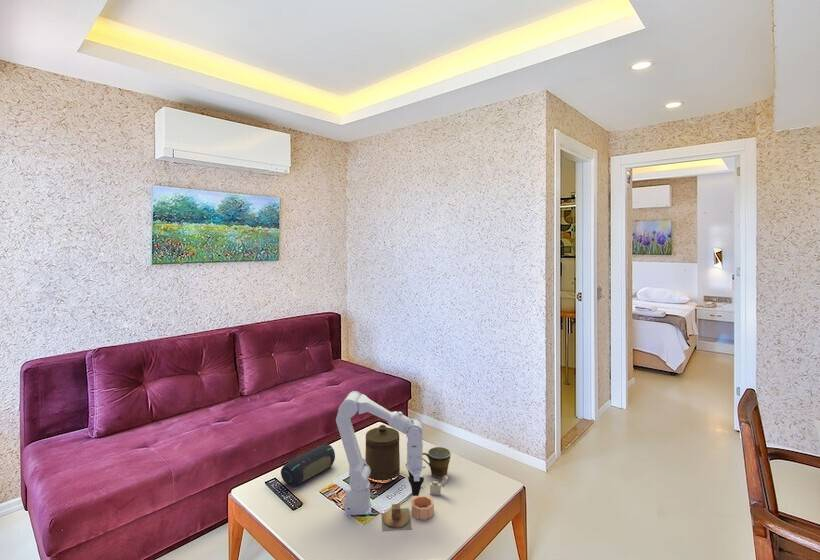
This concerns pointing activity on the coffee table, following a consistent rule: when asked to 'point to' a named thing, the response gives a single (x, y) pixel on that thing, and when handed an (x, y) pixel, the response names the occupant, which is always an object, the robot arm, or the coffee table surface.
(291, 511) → the coffee table surface
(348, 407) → the robot arm
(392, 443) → the wooden container
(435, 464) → the ceramic cup
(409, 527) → the mat
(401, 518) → the lid
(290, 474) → the portable speaker
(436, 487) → the lighter
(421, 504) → the bowl
